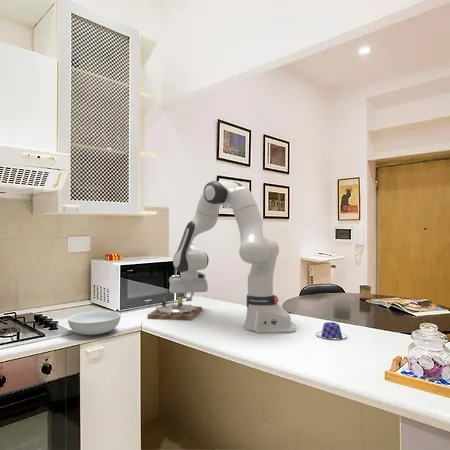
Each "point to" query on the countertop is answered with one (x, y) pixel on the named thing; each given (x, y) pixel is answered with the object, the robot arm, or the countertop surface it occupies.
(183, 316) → the index board
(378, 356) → the countertop surface
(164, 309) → the sprocket
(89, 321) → the serving bowl
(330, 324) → the purple domed brimmed piece
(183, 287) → the robot arm
